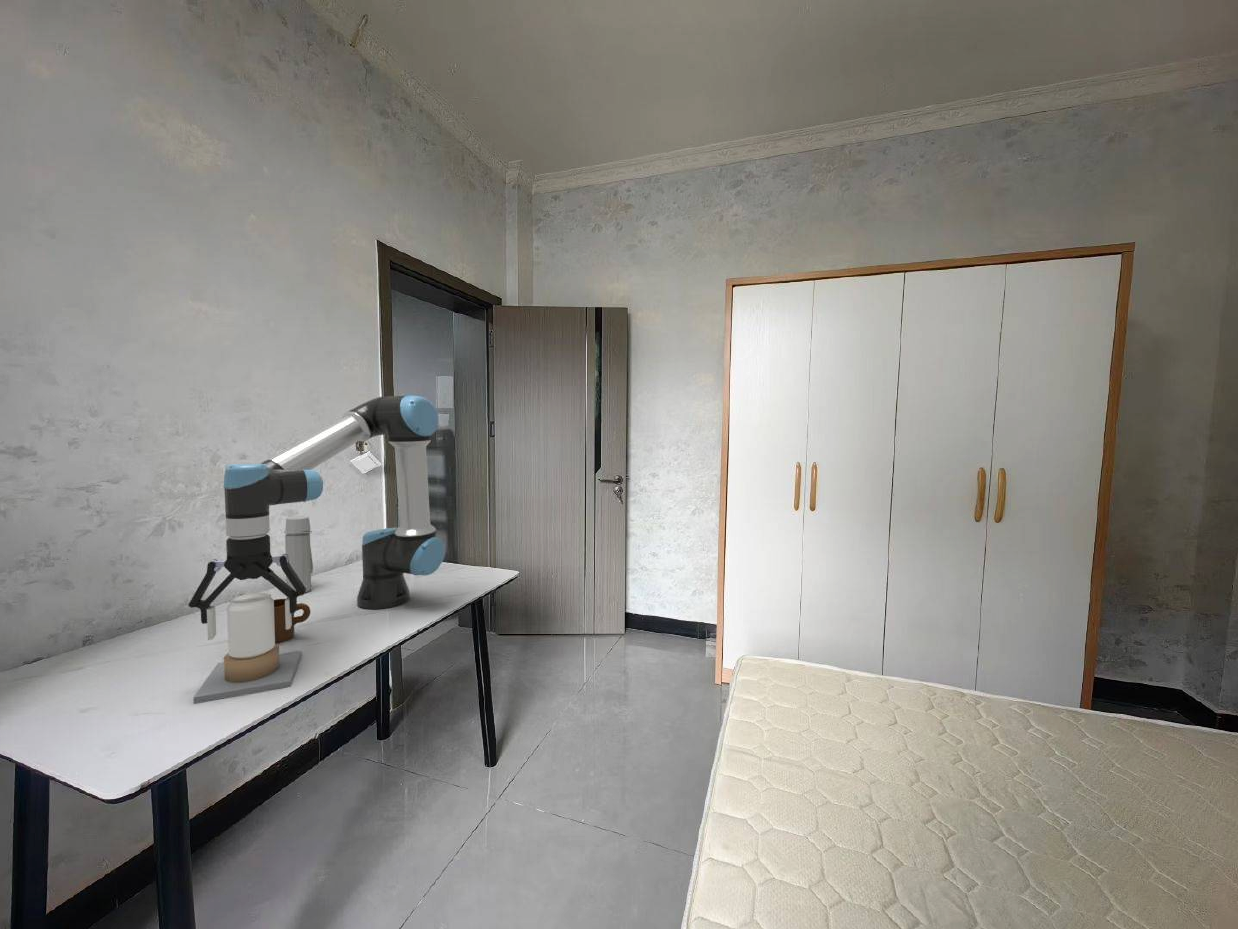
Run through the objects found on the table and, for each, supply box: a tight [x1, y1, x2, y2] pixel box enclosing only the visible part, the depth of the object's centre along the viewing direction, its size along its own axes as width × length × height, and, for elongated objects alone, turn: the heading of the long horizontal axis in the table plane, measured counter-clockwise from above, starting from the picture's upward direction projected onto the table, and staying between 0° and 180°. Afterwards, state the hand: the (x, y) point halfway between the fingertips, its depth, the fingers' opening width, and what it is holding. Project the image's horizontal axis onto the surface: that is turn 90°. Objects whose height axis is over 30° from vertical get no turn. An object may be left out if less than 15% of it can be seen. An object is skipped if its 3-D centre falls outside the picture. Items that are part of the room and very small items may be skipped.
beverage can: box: [226, 592, 276, 659], centre depth 107 cm, size 8×8×12 cm
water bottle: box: [283, 515, 314, 593], centre depth 165 cm, size 9×8×25 cm
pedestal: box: [193, 643, 302, 704], centre depth 107 cm, size 16×16×6 cm
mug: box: [273, 598, 312, 644], centre depth 127 cm, size 12×8×9 cm, turn 97°
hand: (251, 632), depth 107 cm, fingers open, 13 cm apart
